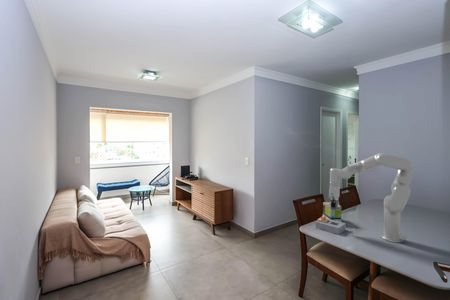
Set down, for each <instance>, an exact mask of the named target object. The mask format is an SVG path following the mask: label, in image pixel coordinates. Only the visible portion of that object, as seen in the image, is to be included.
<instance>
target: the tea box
mask: <svg viewBox="0 0 450 300" xmlns="http://www.w3.org/2000/svg"><path fill="white" fill-rule="evenodd" d="M324 215H325V216H326V219H330V220H334V221H338V222H342V206H341V205H340V204H338V209H337V210H333V209H331V201H325V202H324V201H323V202H322V216H324Z"/></svg>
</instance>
